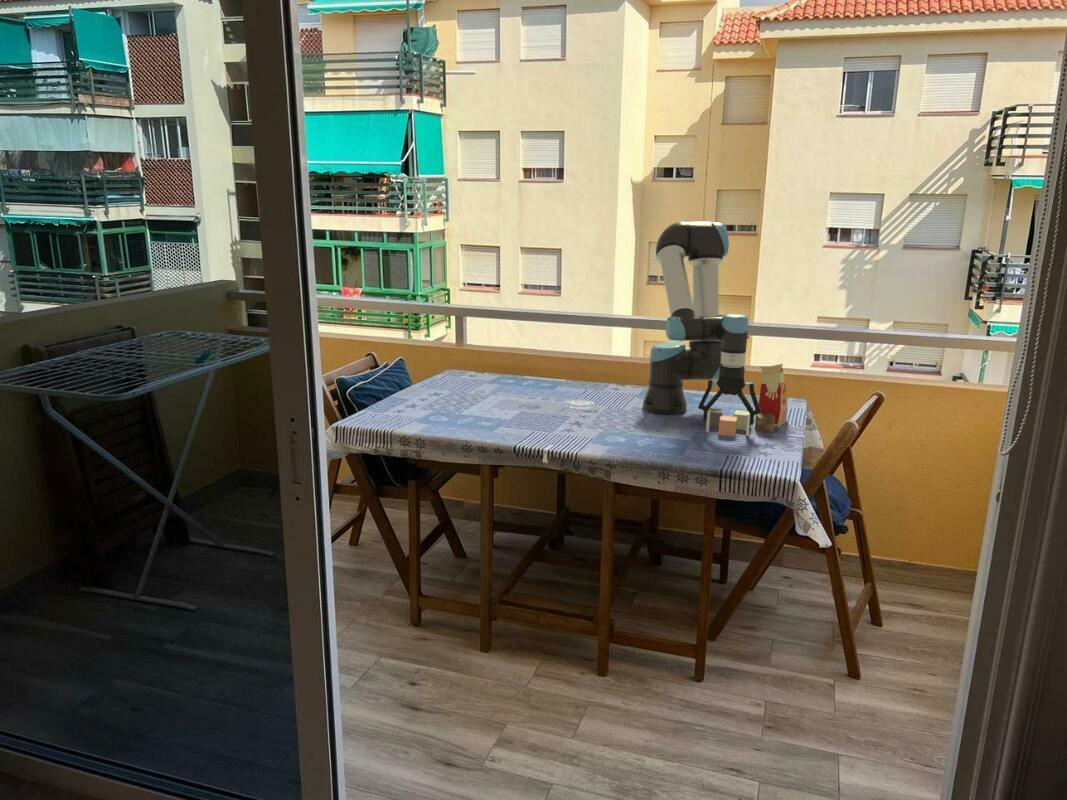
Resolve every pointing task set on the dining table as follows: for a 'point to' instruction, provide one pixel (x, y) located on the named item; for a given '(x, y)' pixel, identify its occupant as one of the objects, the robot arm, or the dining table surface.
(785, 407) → the milk carton
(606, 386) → the dining table surface
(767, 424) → the walnut block
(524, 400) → the dining table surface
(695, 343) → the robot arm
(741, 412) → the sage block
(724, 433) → the terracotta block
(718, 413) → the grey beige cube
